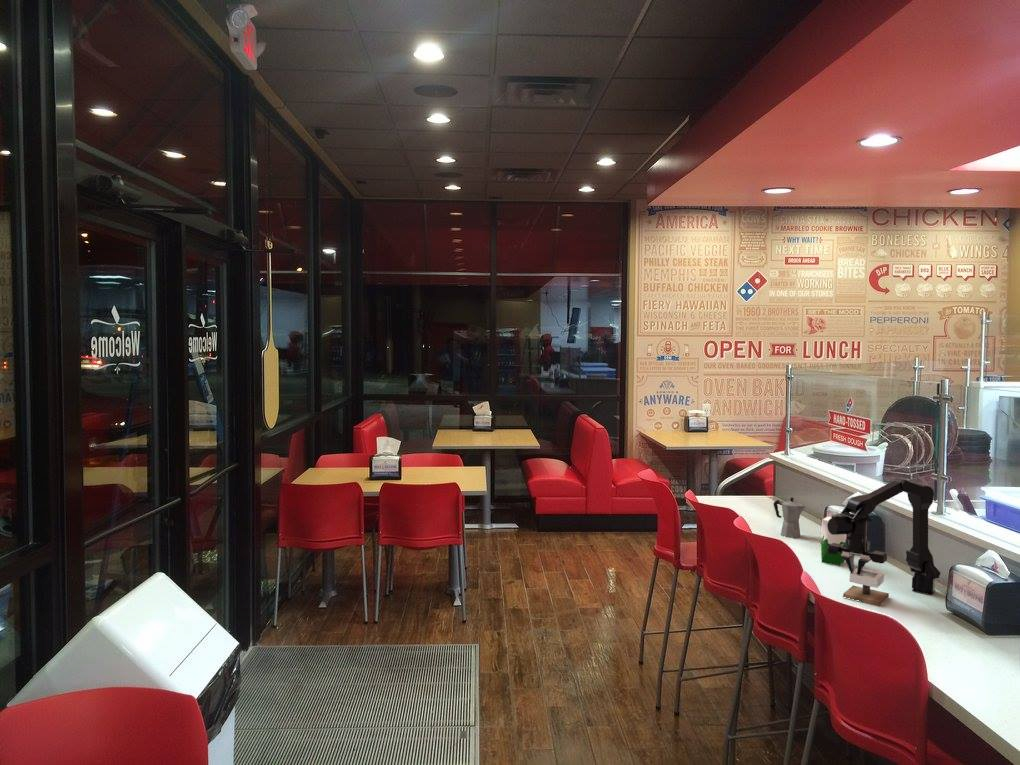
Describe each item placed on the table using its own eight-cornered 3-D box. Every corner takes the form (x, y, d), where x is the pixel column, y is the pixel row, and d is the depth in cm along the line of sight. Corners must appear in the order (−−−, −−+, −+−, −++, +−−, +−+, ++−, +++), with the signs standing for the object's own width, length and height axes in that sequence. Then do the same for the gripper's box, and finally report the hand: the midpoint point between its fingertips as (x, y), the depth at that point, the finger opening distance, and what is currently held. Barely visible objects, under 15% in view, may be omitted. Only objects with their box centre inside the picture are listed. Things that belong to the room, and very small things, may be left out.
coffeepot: (808, 536, 339) (810, 498, 338) (799, 540, 333) (801, 501, 332) (777, 530, 350) (778, 493, 349) (767, 533, 344) (769, 495, 343)
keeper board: (888, 597, 259) (889, 580, 259) (879, 606, 250) (880, 589, 250) (852, 589, 267) (853, 573, 266) (843, 597, 258) (843, 581, 257)
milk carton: (841, 566, 294) (843, 518, 293) (818, 562, 299) (820, 514, 298) (847, 562, 300) (849, 514, 299) (824, 557, 306) (826, 510, 305)
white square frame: (883, 581, 259) (884, 573, 258) (876, 588, 252) (877, 579, 252) (856, 575, 264) (857, 567, 264) (849, 581, 258) (849, 573, 257)
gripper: (891, 534, 260) (889, 576, 260) (837, 524, 272) (835, 565, 273) (883, 540, 251) (881, 584, 252) (827, 530, 263) (825, 572, 264)
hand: (855, 576), depth 260 cm, fingers closed on white square frame
